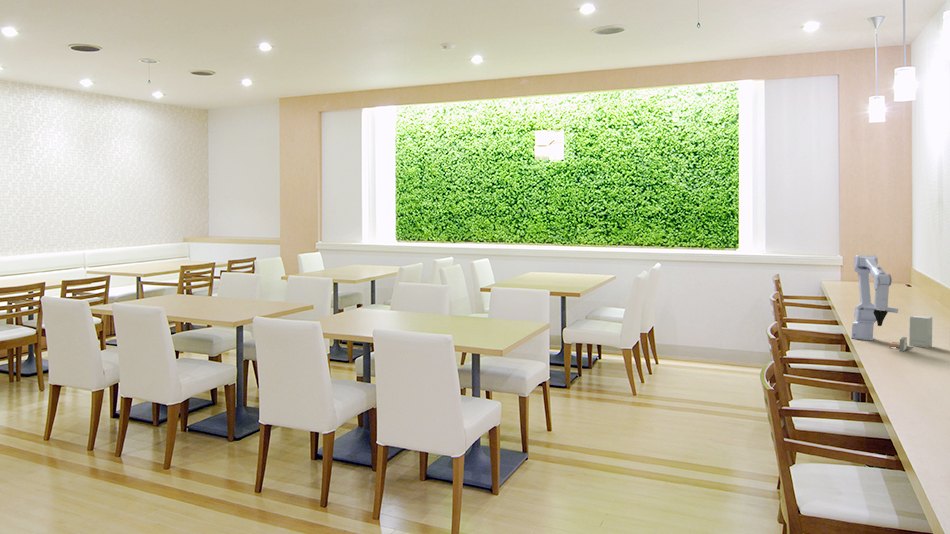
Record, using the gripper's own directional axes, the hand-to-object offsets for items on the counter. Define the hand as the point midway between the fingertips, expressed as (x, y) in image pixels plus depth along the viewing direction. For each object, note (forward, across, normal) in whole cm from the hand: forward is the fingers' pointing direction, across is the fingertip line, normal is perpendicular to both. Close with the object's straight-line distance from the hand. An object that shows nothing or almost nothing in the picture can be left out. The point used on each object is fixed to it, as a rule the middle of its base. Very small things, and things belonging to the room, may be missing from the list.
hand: (879, 325), depth 330 cm
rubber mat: (+10, +9, +4) cm, 14 cm away
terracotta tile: (+9, +5, +4) cm, 11 cm away
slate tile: (+10, +11, -3) cm, 15 cm away
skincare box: (+11, +14, +16) cm, 24 cm away
